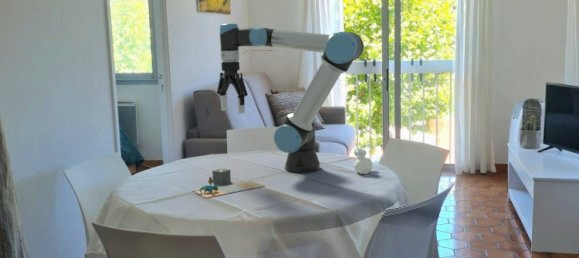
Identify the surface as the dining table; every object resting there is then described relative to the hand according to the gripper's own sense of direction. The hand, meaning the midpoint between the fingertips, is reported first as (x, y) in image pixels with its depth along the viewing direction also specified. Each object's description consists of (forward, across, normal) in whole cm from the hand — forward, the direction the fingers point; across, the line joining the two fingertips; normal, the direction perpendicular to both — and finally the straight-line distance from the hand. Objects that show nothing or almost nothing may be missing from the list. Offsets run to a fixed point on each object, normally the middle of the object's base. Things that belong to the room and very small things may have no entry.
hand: (232, 111), depth 240 cm
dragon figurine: (+26, +21, -26) cm, 43 cm away
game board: (+26, +22, -17) cm, 38 cm away
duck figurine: (+27, +37, +40) cm, 61 cm away
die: (+26, +10, -13) cm, 31 cm away
